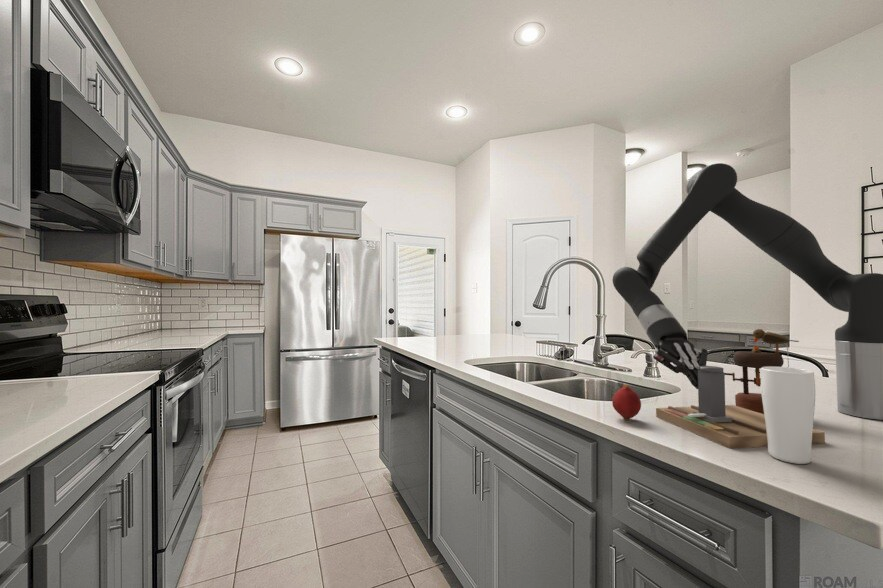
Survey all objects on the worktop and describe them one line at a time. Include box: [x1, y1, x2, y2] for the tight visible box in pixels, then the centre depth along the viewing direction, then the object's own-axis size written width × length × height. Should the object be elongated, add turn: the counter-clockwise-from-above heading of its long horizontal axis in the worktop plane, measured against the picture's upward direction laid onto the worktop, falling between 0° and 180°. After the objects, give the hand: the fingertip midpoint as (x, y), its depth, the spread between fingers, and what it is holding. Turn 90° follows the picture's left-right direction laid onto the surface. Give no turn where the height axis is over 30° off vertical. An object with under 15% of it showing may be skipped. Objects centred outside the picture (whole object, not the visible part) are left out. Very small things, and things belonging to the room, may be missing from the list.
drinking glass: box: [760, 366, 816, 465], centre depth 62 cm, size 7×7×15 cm
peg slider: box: [688, 365, 732, 422], centre depth 77 cm, size 7×5×11 cm
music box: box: [724, 328, 800, 414], centre depth 89 cm, size 15×11×20 cm
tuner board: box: [655, 404, 826, 449], centre depth 77 cm, size 20×19×3 cm
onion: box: [611, 383, 642, 421], centre depth 84 cm, size 6×6×8 cm
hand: (702, 387), depth 79 cm, fingers closed
